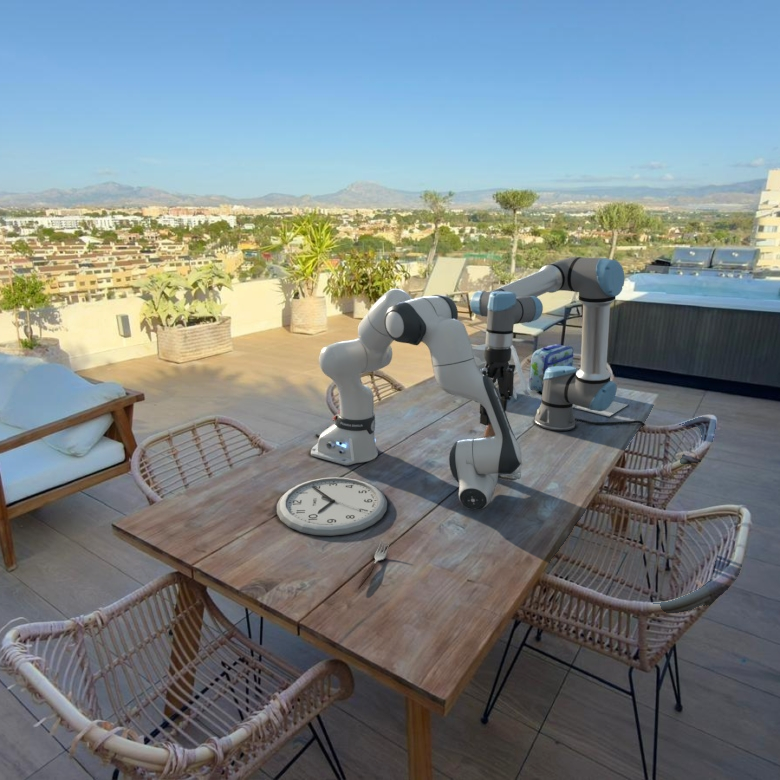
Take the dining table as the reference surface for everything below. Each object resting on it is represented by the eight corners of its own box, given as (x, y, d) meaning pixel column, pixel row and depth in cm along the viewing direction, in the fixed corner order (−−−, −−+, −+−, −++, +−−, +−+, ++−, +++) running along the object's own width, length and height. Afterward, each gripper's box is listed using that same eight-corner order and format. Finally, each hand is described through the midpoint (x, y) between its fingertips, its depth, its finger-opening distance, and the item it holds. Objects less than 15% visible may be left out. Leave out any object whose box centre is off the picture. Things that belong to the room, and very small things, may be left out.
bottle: (477, 473, 163) (482, 416, 157) (489, 470, 165) (493, 414, 159) (486, 479, 159) (491, 421, 153) (498, 476, 161) (503, 419, 155)
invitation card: (608, 416, 214) (573, 407, 224) (608, 416, 214) (573, 408, 224) (628, 404, 229) (594, 396, 238) (628, 405, 229) (594, 397, 238)
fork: (352, 589, 110) (352, 581, 109) (380, 547, 124) (380, 540, 123) (364, 592, 109) (364, 583, 108) (390, 550, 123) (390, 542, 123)
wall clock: (392, 527, 129) (268, 531, 127) (391, 533, 130) (269, 537, 127) (383, 473, 158) (282, 475, 155) (383, 478, 158) (282, 480, 156)
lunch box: (545, 397, 238) (550, 352, 231) (524, 391, 245) (529, 348, 239) (572, 386, 255) (578, 344, 249) (552, 381, 262) (557, 340, 256)
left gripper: (521, 469, 144) (525, 450, 157) (448, 458, 150) (458, 440, 163) (519, 490, 146) (523, 469, 159) (447, 478, 152) (457, 459, 165)
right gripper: (511, 340, 158) (504, 412, 165) (464, 348, 147) (460, 424, 154) (530, 345, 152) (523, 419, 159) (483, 353, 141) (478, 432, 148)
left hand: (489, 455), depth 161 cm, fingers closed on bottle, 4 cm apart
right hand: (492, 421), depth 157 cm, fingers open, 6 cm apart
